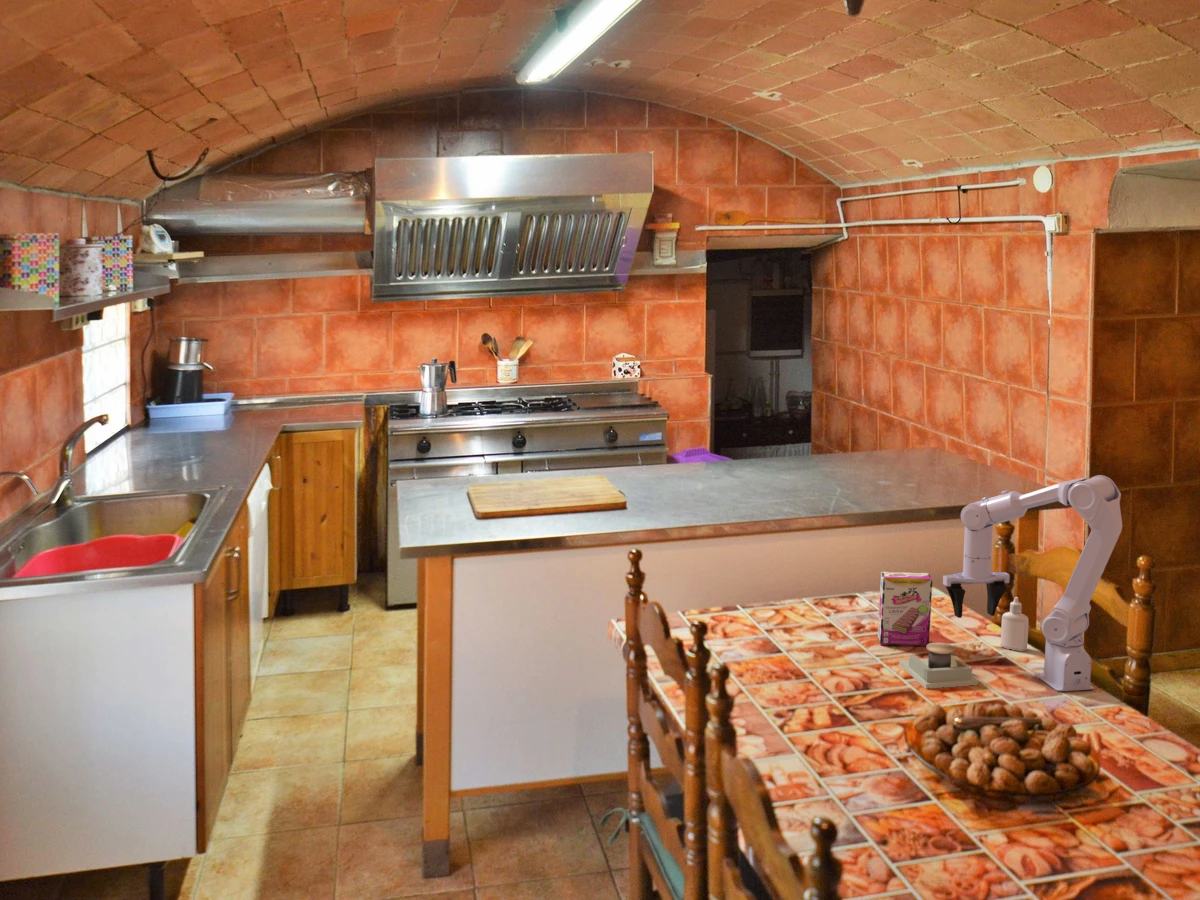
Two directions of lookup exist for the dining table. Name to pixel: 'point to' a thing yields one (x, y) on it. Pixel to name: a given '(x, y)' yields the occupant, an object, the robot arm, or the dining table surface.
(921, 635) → the candy bar box
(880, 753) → the dining table surface
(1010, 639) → the eye dropper bottle
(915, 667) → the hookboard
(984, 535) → the robot arm
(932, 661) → the spool
